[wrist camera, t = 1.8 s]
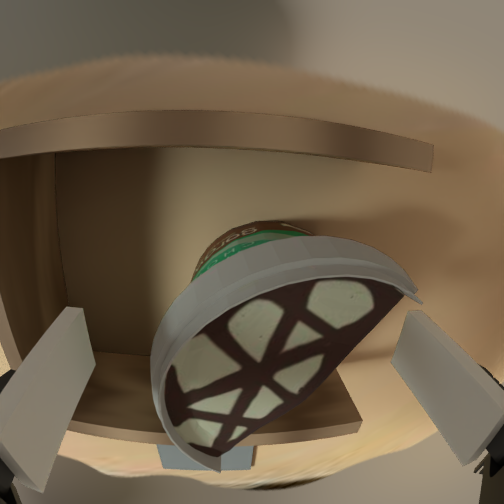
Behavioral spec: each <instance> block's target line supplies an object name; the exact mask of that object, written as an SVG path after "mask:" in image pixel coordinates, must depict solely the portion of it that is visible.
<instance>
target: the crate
mask: <svg viewBox="0 0 504 504" xmlns="http://www.w3.org/2000/svg"><path fill="white" fill-rule="evenodd" d="M149 147H194V148H226V149H245V150H261V151H274V152H285V153H296V154H306V155H315V156H323V157H331V158H339V159H346V160H353V161H360V162H367V163H375V164H382V165H389V166H395V167H402V168H408V169H413V170H419V171H425V172H430V173H431V170H432V160H433V149H434V145H432V144H429V143H425V142H421V141H417V140H414V139H410V138H406V137H402V136H398V135H393V134H389V133H385V132H380V131H375V130H371V129H366V128H361V127H355V126H350V125H344V124H338V123H332V122H326V121H320V120H313V119H305V118H297V117H289V116H280V115H270V114H259V113H245V112H228V111H200V110H162V111H134V112H118V113H105V114H95V115H85V116H77V117H69V118H61V119H55V120H48V121H42V122H36V123H31V124H25V125H20V126H15V127H11V128H6V129H2V130H0V342H1V345H2V348H3V350H4V353H5V356H6V358H7V361H8V363H9V365H10V368H11V369H12V370H15V371H16V370H17V369H18V368H19V366H20V365H21V364H22V362H23V361H24V359H25V358H26V357H27V355H28V354H29V353H30V351H31V350H32V349H33V347H34V346H35V345H36V344H37V342H38V341H39V340H40V338H41V337H42V336H43V335H44V333H45V332H46V331H47V330H48V328H49V327H50V326H51V325H52V323H53V322H54V321H55V320H56V318H57V317H58V316H59V315H60V314H61V312H62V311H63V310H64V309H65V308H66V306H67V307H69V302H68V297H67V291H66V286H65V280H64V274H63V267H62V260H61V253H60V245H59V235H58V225H57V212H56V195H55V153H61V152H72V151H84V150H99V149H118V148H149ZM92 352H93V356H94V359H95V363H96V365H95V367H94V369H93V372H92V374H91V376H90V378H89V380H88V382H87V384H86V386H85V389H84V391H83V393H82V395H81V397H80V400H79V402H78V404H77V406H76V409H75V411H74V413H73V416H72V418H71V420H70V423H69V425H68V428H67V430H69V431H73V432H78V433H83V434H88V435H93V436H98V437H104V438H110V439H117V440H124V441H131V442H140V443H149V444H160V445H174V446H175V444H174V443H173V442H172V441H171V440H170V438H169V436H168V435H167V433H166V431H165V430H164V428H163V425H162V422H161V420H160V418H159V416H158V414H157V411H156V407H155V404H154V400H153V393H152V383H151V366H150V356H143V355H130V354H118V353H108V352H99V351H92ZM362 421H363V420H362V418H361V416H360V414H359V412H358V410H357V408H356V406H355V404H354V403H353V401H352V399H351V397H350V395H349V393H348V391H347V389H346V387H345V385H344V383H343V381H342V380H341V378H340V376H339V374H338V372H337V370H336V368H335V370H334V371H333V372H332V373H331V374H330V375H329V376H328V377H327V379H326V380H325V381H324V382H323V383H322V384H321V385H320V386H319V387H318V388H317V389H316V390H315V391H314V392H313V393H312V394H311V395H310V396H309V397H308V398H307V399H306V400H305V401H303V402H302V403H301V404H299V405H298V406H296V407H295V408H293V409H292V410H290V411H289V412H287V413H286V414H284V415H282V416H280V417H279V418H277V419H275V420H273V421H272V422H270V423H268V424H266V425H265V426H263V427H261V428H259V429H258V430H256V431H255V432H253V433H252V434H250V435H249V436H248V437H246V438H245V439H243V440H242V441H240V442H239V443H238V444H236V445H235V446H234V447H236V446H259V445H273V444H284V443H294V442H302V441H310V440H317V439H324V438H330V437H336V436H342V435H347V434H352V433H357V432H358V430H359V428H360V426H361V423H362Z"/></svg>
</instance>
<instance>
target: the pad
mask: <svg viewBox="0 0 504 504" xmlns="http://www.w3.org/2000/svg"><path fill="white" fill-rule="evenodd" d="M253 447H254V446H236V447H233V448H232V449H231V450H230V451H228V452H226V453H224V454H223V455H221V470H250V469H251V462H252V454H253ZM157 448H158V452H159V455H160V459H161V462H162V465H163V468H165V469H180V470H210V469H208V468H205V467H204V466H202V465H200V464H198V463H196V462H194V461H193V460H191V459H190V458H189V457H187V456H186V455H185V454H184V453H182V452H181V451H180V450H179V449H178V448H177V447H176V446H174V445H160V444H157Z"/></svg>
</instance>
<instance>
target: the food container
mask: <svg viewBox="0 0 504 504" xmlns="http://www.w3.org/2000/svg"><path fill="white" fill-rule="evenodd" d="M417 291H418V289H417V287H416V286H415V285H414V283H413V282H412V280H411V279H410V278H409V276H408V275H407V273H406V272H405V271H404V269H402V268H401V267H400V266H399V265H398V264H397V263H396V262H395V261H394V260H393V259H391V258H390V257H388V256H387V255H385V254H383V253H382V252H380V251H378V250H377V249H375V248H373V247H371V246H368V245H365V244H362V243H359V242H357V241H354V240H350V239H344V238H337V237H331V236H315V235H313V234H311V233H310V232H308V231H306V230H304V229H301V228H298V227H295V226H292V225H289V224H287V223H284V222H268V221H256V222H252V223H249V224H246V225H242V226H239V227H236V228H233V229H231V230H229V231H228V232H226V233H225V234H223V235H222V236H220V237H219V238H217V239H216V240H215V241H214V242H213V243H212V244H211V245H210V246H209V247H208V248H207V249H206V251H205V252H204V253H203V255H202V256H201V258H200V260H199V262H198V264H197V266H196V269H195V271H194V274H193V277H192V280H191V283H190V284H189V285H188V287H187V288H186V289H185V290H184V291H183V292H182V293H181V294H180V295H179V296H178V297H177V298H176V299H175V300H174V302H173V303H172V305H171V306H170V307H169V309H168V310H167V312H166V313H165V315H164V316H163V318H162V320H161V322H160V325H159V327H158V329H157V332H156V334H155V337H154V340H153V345H152V350H151V356H150V366H151V383H152V393H153V400H154V404H155V407H156V411H157V414H158V416H159V418H160V420H161V422H162V425H163V428H164V430H165V431H166V433H167V435H168V436H169V438H170V440H171V441H172V442H173V443H174V444H175V446H176V447H177V448H178V449H179V450H180V451H181V452H182V453H184V454H185V455H186V456H187V457H189V458H190V459H191V460H193V461H194V462H196V463H198V464H200V465H202V466H204V467H205V468H208V469H210V470H213V471H215V472H218V473H221V455H223V454H224V453H226V452H228V451H230V450H231V449H232V448H233V447H234V446H235V445H236V444H238V443H239V442H240V441H242V440H243V439H245V438H246V437H248V436H249V435H250V434H252V433H253V432H255V431H256V430H258V429H259V428H261V427H263V426H265V425H266V424H268V423H270V422H272V421H273V420H275V419H277V418H279V417H280V416H282V415H284V414H286V413H287V412H289V411H290V410H292V409H293V408H295V407H296V406H298V405H299V404H301V403H302V402H303V401H305V400H306V399H307V398H308V397H309V396H310V395H311V394H312V393H313V392H314V391H315V390H316V389H317V388H318V387H319V386H320V385H321V384H322V383H323V382H324V381H325V380H326V379H327V377H328V376H329V375H330V374H331V373H332V372H333V371H334V370H335V368H336V367H337V366H338V365H339V364H340V363H341V362H342V361H343V359H344V358H345V357H346V356H347V355H348V354H349V353H350V352H351V351H352V350H353V348H354V347H355V346H356V345H357V344H358V343H359V342H360V341H361V340H362V339H363V338H364V337H365V336H366V335H367V334H368V333H369V332H370V331H371V330H372V329H373V328H374V327H375V326H376V325H377V324H378V323H379V322H380V321H381V320H382V319H383V318H384V317H385V316H386V314H387V313H388V312H389V311H390V310H391V309H392V308H393V307H394V306H395V305H396V304H397V303H398V302H399V301H400V300H401V299H402V297H403V296H404V294H405V295H406V296H408V297H410V298H411V299H413V300H414V301H416V302H418V303H419V304H421V305H422V304H423V302H422V301H421V300H419V299H418V298H417V297H416V296H415V295H414V294H415V293H416V292H417Z"/></svg>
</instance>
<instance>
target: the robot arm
mask: <svg viewBox="0 0 504 504" xmlns="http://www.w3.org/2000/svg"><path fill="white" fill-rule="evenodd" d="M391 363H392V365H393V366H394V368H395V369H396V370H397V372H398V373H399V374H400V376H401V377H402V379H403V380H404V381H405V383H406V384H407V386H408V387H409V388H410V390H411V391H412V393H413V394H414V395H415V397H416V398H417V400H418V401H419V402H420V404H421V405H422V407H423V408H424V410H425V411H426V412H427V414H428V415H429V417H430V418H431V420H432V421H433V423H434V424H435V425H436V427H437V428H438V430H439V431H440V433H441V434H442V436H443V437H444V438H445V440H446V442H447V443H448V445H449V446H450V448H451V449H452V451H453V452H454V454H455V455H456V457H457V458H458V460H459V461H460V463H461V465H462V466H465V465H467V464H469V463H471V462H472V461H474V460H476V459H477V458H478V457H479V456H480V455H481V454H482V452H483V451H484V450H485V449H487V451H488V452H489V453H488V454H487V455H486V457H485V458H484V459H483V460H482V461H481V462H480V464H479V465H478V466H477V467H476V468H475V470H474V473H476V472H477V471H478V470H479V469H480V468H481V467H482V466H484V468H483V469H482V470H481V471H480V473H479V474H483V479H482V486H481V494H480V500H479V504H504V387H503V386H502V385H501V384H499V381H498V380H497V379H496V378H493V375H492V374H491V373H490V372H489V371H488V370H487V369H486V368H484V367H482V366H481V365H479V364H478V363H476V362H475V361H474V360H473V359H472V358H471V357H470V356H469V355H468V354H467V353H466V352H465V351H464V350H463V349H462V348H461V347H460V346H459V345H458V344H457V343H456V342H455V341H454V340H453V339H452V338H451V337H449V336H448V335H447V334H446V333H445V332H444V331H443V330H442V329H441V328H440V327H439V326H438V325H437V324H436V323H434V322H433V321H432V320H431V319H430V318H429V317H428V316H427V315H426V314H425V313H423V312H422V311H421V310H417V311H408V312H407V315H406V319H405V322H404V325H403V328H402V331H401V334H400V337H399V340H398V343H397V346H396V349H395V352H394V355H393V358H392V360H391ZM95 365H96V363H95V359H94V356H93V352H92V348H91V343H90V339H89V335H88V330H87V326H86V321H85V316H84V311H83V308H76V307H67V306H66V308H65V309H64V310H63V311H62V312H61V314H60V315H59V316H58V317H57V318H56V320H55V321H54V322H53V323H52V325H51V326H50V327H49V328H48V330H47V331H46V332H45V333H44V335H43V336H42V337H41V338H40V340H39V341H38V342H37V344H36V345H35V346H34V347H33V349H32V350H31V351H30V353H29V354H28V355H27V357H26V358H25V359H24V361H23V362H22V364H21V365H20V366H19V368H18V369H17V370H16V371H15V370H12V369H11V370H9V371H8V372H6V373H5V374H4V375H2V376H1V377H0V504H22V503H21V501H20V498H19V495H18V493H17V490H16V488H15V486H14V484H13V483H12V481H13V478H14V476H15V477H16V478H18V480H19V481H20V482H21V483H22V484H23V485H24V486H26V487H29V488H32V489H34V490H37V491H39V492H42V493H43V492H44V489H45V486H46V483H47V480H48V477H49V474H50V471H51V468H52V466H53V463H54V461H55V458H56V455H57V453H58V450H59V448H60V445H61V442H62V440H63V437H64V435H65V432H66V430H67V428H68V425H69V423H70V420H71V418H72V416H73V413H74V411H75V409H76V406H77V404H78V402H79V400H80V397H81V395H82V393H83V391H84V389H85V386H86V384H87V382H88V380H89V378H90V376H91V374H92V372H93V369H94V367H95Z"/></svg>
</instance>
